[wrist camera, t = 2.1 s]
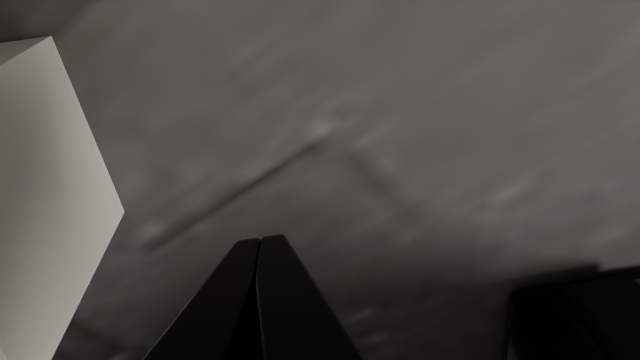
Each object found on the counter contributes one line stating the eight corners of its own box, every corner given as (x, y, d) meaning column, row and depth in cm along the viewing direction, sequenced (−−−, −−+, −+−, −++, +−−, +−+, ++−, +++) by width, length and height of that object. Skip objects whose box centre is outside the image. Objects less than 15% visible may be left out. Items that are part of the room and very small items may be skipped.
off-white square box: (124, 211, 16) (33, 394, 10) (62, 221, 16) (-66, 410, 10) (51, 35, 13) (-143, 147, 7) (-26, 47, 13) (-284, 169, 7)
